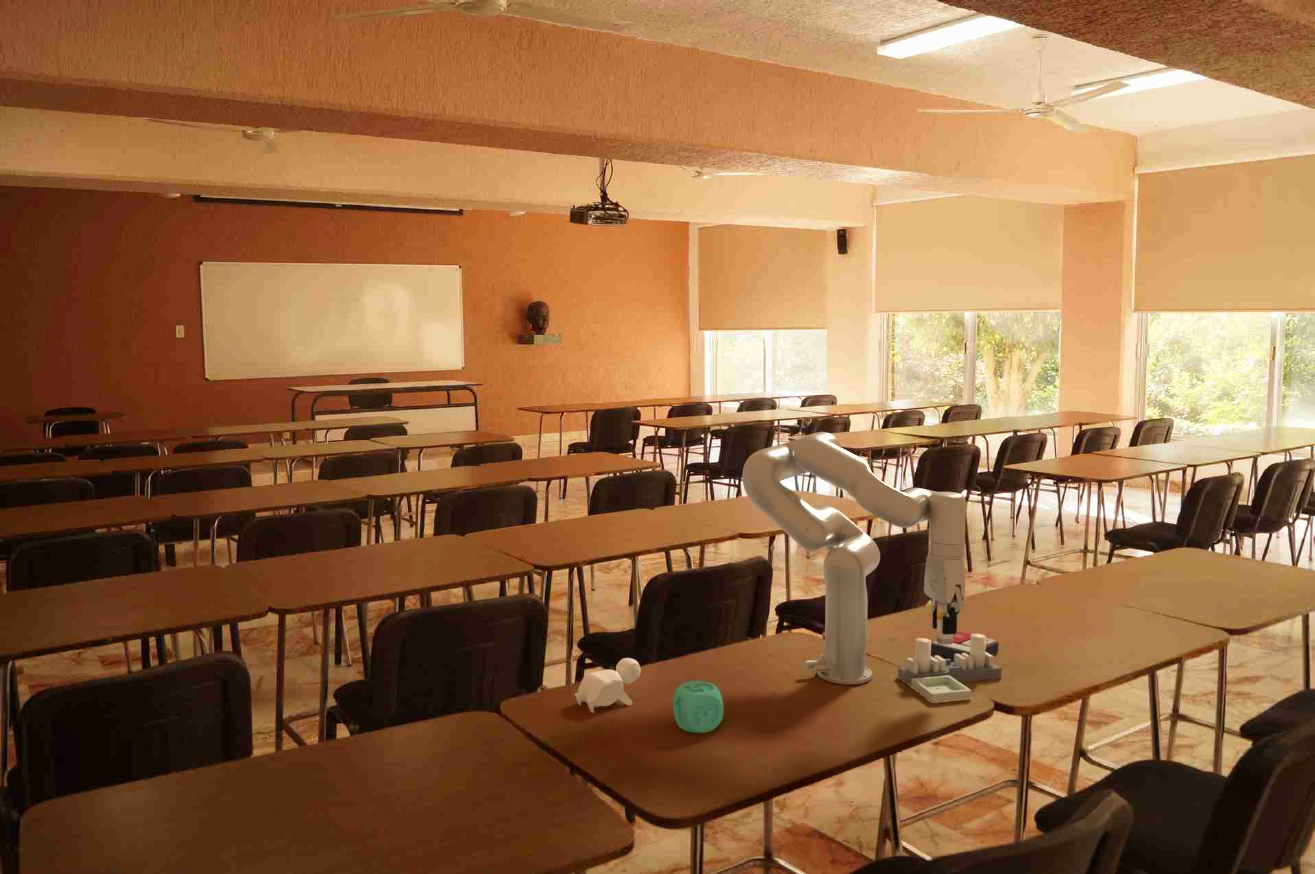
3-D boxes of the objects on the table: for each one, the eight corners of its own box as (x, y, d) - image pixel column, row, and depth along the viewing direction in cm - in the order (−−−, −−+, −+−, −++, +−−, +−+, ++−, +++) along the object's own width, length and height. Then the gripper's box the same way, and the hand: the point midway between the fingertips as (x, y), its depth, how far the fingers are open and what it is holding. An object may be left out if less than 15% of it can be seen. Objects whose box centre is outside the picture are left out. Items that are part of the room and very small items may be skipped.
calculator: (999, 639, 243) (972, 651, 232) (998, 656, 243) (971, 668, 232) (958, 629, 250) (930, 640, 239) (957, 646, 251) (929, 657, 240)
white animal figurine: (601, 727, 205) (655, 688, 213) (587, 695, 202) (643, 656, 210) (580, 714, 212) (633, 676, 219) (567, 682, 209) (621, 645, 217)
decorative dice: (672, 720, 202) (672, 683, 201) (707, 715, 204) (708, 678, 203) (687, 736, 194) (687, 697, 193) (723, 730, 197) (724, 692, 196)
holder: (910, 687, 220) (911, 646, 219) (897, 677, 226) (899, 637, 225) (1001, 678, 225) (1002, 638, 224) (986, 669, 231) (988, 630, 230)
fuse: (941, 645, 212) (942, 600, 211) (933, 640, 216) (934, 596, 215) (956, 643, 213) (956, 599, 212) (947, 639, 216) (948, 595, 215)
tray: (932, 703, 210) (932, 694, 210) (910, 688, 219) (911, 678, 219) (971, 700, 213) (971, 690, 212) (948, 684, 222) (949, 675, 221)
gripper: (912, 542, 219) (910, 621, 221) (950, 558, 203) (948, 644, 205) (942, 540, 221) (940, 618, 223) (983, 556, 205) (980, 641, 207)
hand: (944, 630), depth 214 cm, fingers closed on fuse, 3 cm apart
